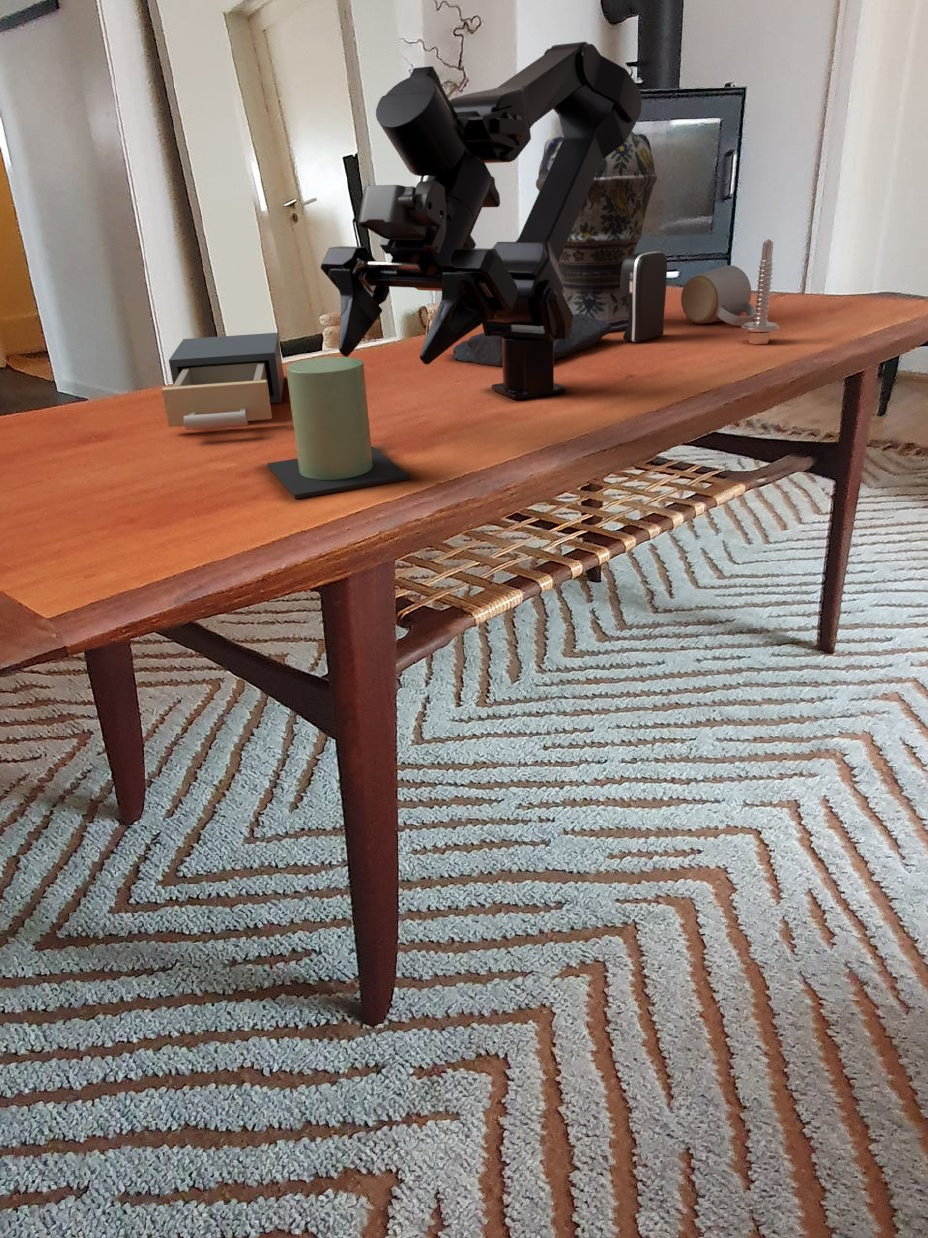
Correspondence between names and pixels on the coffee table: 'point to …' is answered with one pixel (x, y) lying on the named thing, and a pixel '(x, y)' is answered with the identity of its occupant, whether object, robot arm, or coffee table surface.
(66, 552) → the coffee table surface
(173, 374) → the cabinet
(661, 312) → the battery charger
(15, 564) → the coffee table surface
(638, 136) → the vase
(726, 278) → the ceramic mug
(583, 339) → the dark slate chunk
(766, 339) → the screw
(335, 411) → the can
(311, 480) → the coaster
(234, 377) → the drawer
